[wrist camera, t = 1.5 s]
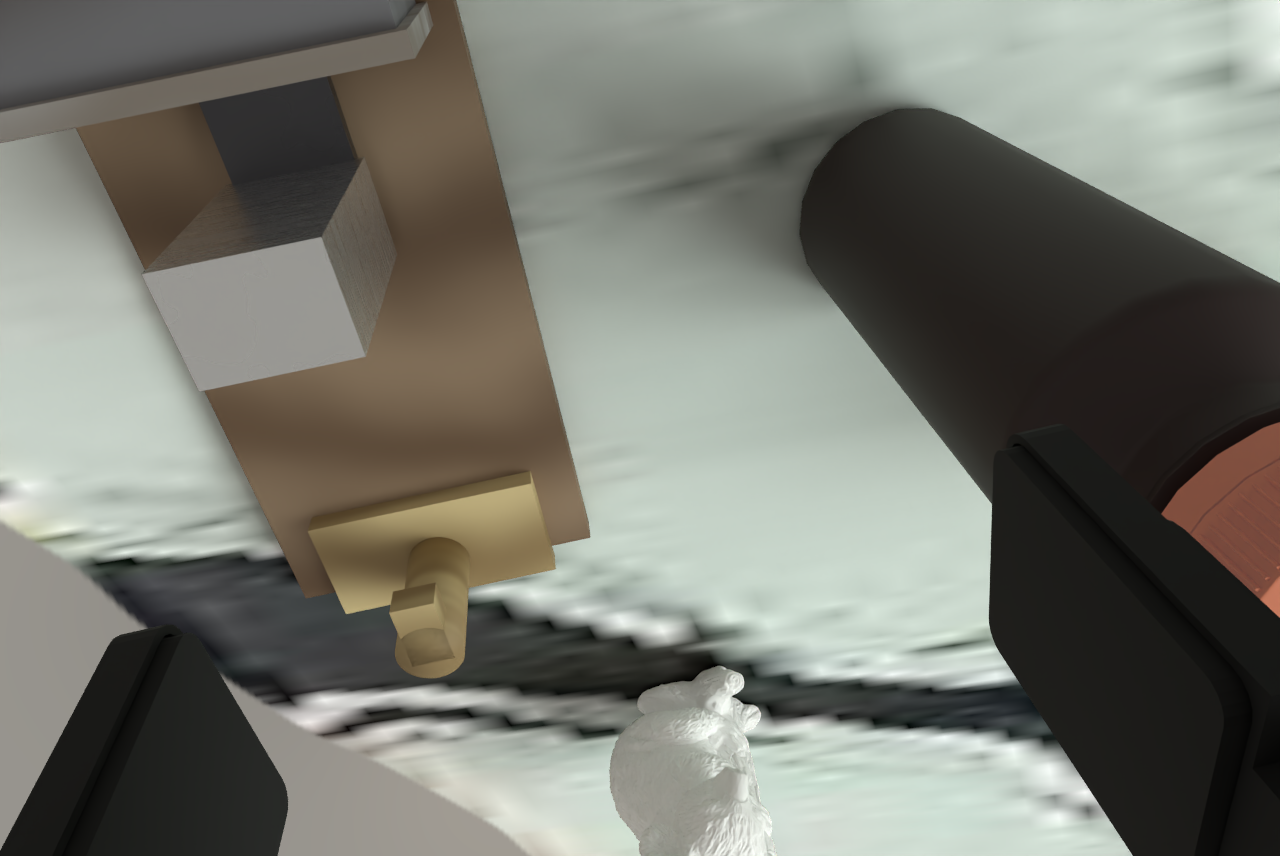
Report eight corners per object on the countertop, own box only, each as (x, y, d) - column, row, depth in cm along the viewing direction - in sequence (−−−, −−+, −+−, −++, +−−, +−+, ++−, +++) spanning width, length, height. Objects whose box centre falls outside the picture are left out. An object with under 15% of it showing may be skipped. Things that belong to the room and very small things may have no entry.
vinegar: (754, 216, 30) (1076, 653, 13) (916, 56, 28) (1547, 324, 11) (876, 340, 33) (1271, 828, 16) (1030, 203, 31) (1670, 594, 14)
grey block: (40, -271, 21) (-160, -338, 14) (214, -305, 21) (89, -387, 14) (268, 278, 28) (199, 392, 21) (397, 251, 28) (365, 356, 22)
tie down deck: (-105, -287, 21) (-327, -348, 16) (360, -378, 21) (306, -471, 16) (315, 590, 36) (278, 723, 30) (590, 531, 36) (606, 652, 30)
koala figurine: (804, 698, 42) (898, 959, 32) (698, 776, 44) (755, 1045, 34) (681, 610, 38) (743, 873, 28) (571, 700, 40) (592, 976, 30)
